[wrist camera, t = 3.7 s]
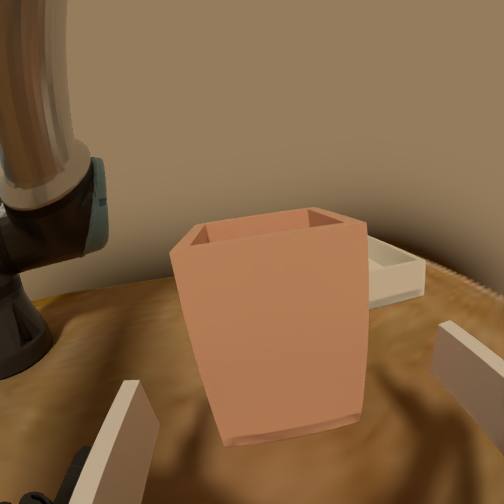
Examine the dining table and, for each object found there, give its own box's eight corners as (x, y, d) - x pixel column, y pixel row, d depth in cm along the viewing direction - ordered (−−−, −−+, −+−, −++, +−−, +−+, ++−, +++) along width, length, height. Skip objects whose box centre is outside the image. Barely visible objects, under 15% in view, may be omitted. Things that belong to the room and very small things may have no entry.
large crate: (275, 328, 31) (270, 290, 29) (260, 275, 49) (256, 249, 48) (423, 295, 31) (425, 260, 30) (364, 257, 49) (363, 233, 48)
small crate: (224, 446, 15) (169, 252, 12) (226, 370, 24) (195, 224, 21) (360, 421, 16) (366, 222, 13) (325, 353, 24) (315, 206, 21)
